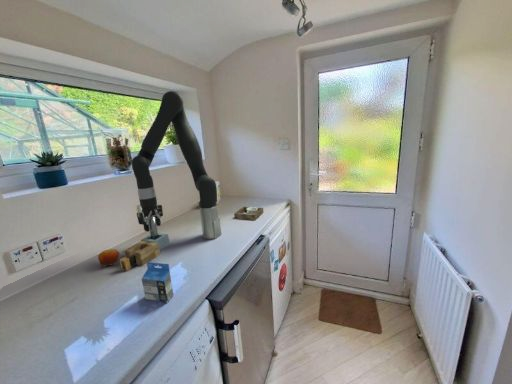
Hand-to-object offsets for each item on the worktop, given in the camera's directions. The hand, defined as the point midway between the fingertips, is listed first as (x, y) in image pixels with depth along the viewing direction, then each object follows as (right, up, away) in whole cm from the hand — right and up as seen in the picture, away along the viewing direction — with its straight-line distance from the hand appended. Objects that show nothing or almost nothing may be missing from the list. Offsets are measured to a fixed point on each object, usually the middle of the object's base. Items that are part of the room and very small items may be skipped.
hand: (153, 228), depth 115 cm
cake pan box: (+18, +7, +70) cm, 72 cm away
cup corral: (+47, +2, +40) cm, 62 cm away
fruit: (-14, -15, -11) cm, 23 cm away
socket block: (-1, -13, -9) cm, 15 cm away
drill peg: (+1, -9, +2) cm, 9 cm away
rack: (+1, -10, +2) cm, 10 cm away
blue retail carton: (+18, -19, -36) cm, 44 cm away
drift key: (-3, -14, -14) cm, 20 cm away
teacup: (+49, +2, +41) cm, 64 cm away
